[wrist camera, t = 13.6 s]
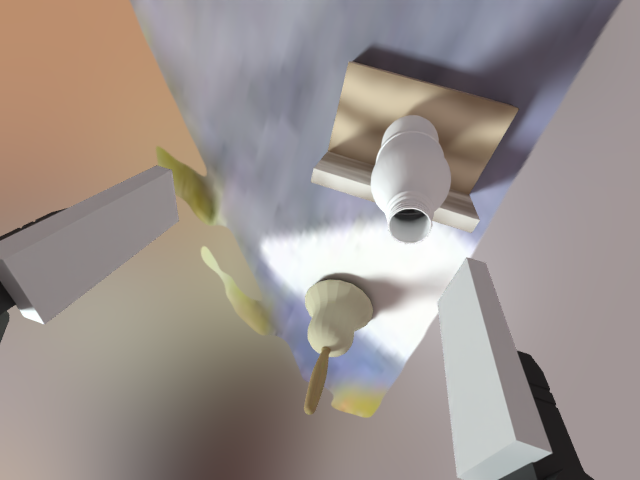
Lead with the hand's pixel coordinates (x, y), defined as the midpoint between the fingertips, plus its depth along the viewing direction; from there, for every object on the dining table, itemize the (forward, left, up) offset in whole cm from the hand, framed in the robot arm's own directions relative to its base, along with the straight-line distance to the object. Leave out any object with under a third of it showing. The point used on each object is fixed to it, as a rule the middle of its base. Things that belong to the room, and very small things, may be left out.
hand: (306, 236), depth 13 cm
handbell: (+40, +5, -36) cm, 54 cm away
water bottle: (+2, +6, -33) cm, 34 cm away
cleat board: (+1, +6, -36) cm, 36 cm away
